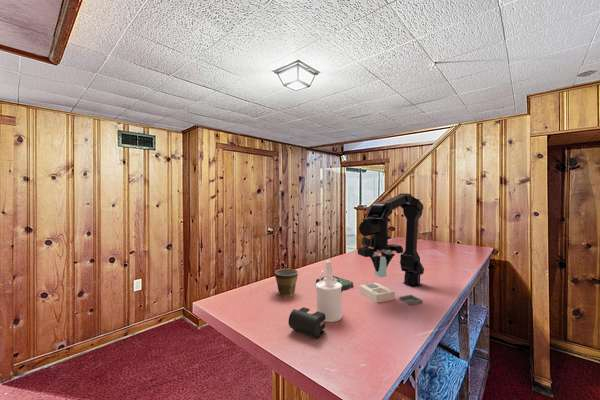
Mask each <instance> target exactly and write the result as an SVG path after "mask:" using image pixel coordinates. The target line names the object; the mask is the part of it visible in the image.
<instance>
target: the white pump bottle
mask: <svg viewBox="0 0 600 400" xmlns="http://www.w3.org/2000/svg"><path fill="white" fill-rule="evenodd" d="M324 272H325V273H324ZM323 273H324V274H325V275H324V276H323V277H324V279H325V281H323V280H324V279H323V280H322V281H321V278H322V275H323ZM325 276H326V277H325ZM332 276H333V263H332V260H326V262H325V269H322V270H321V272H320V274H319V278H318V279H320V282H318V283H316V282H315V287H316V312H317V311H318V312H321V313H324V314H325V320H324V321H323V322H324V323H326V322H327V323H335V322H338V321H340V320H341V319H343V314H342V291H341V288H342V284H341V283H339V282H337V278H334V277H332ZM333 279H334V281H333Z"/></svg>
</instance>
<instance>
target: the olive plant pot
mask: <svg viewBox="0 0 600 400" xmlns="http://www.w3.org/2000/svg"><path fill="white" fill-rule="evenodd" d="M273 275H274V278H275V281H276V284H277V290H278V295H279V297H282V298H292V297H294V296H295V293H296V287H297V286H296V285H297V281H298V277H299V276H298V275H299V272H298V270H297V269H294V268H281V269H277V270H274V271H273Z"/></svg>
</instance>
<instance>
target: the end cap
mask: <svg viewBox="0 0 600 400" xmlns="http://www.w3.org/2000/svg"><path fill="white" fill-rule="evenodd" d="M308 312H310V308H307V307H304V306H303V307H301V308H299V309H295V308H293V310H291V311H290V313H289V316H288V327H289V328H291V329H292V330H294V331H295V332H299V333H302V334H304V335H307V336H310V337H312V338H315V339H319V338H320V337H322V336H323V335H324V334H325V333H326V331H325V330H324V329H326V326H327V325H326V322H324V320H325V314H324V313H321V312H318V311H317V310H316V311H315V312H314V313H308ZM322 322H324V323H323V324H322Z"/></svg>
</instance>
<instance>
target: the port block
mask: <svg viewBox="0 0 600 400" xmlns="http://www.w3.org/2000/svg"><path fill="white" fill-rule="evenodd" d="M358 289H359V293H360V294H361V295H363V296H364V297H366V298H368V299H369V300H371V301H373V302H375V304H376V303H382V302H387V301H392V300H395V299H396V298H395V297H396V294H395V291H394V290H391V289H390V288H388V287H386V286H384V285H382V284H380V283H378V282H373V283H371V282H370V283H366V284H360V285H359V286H358Z"/></svg>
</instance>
